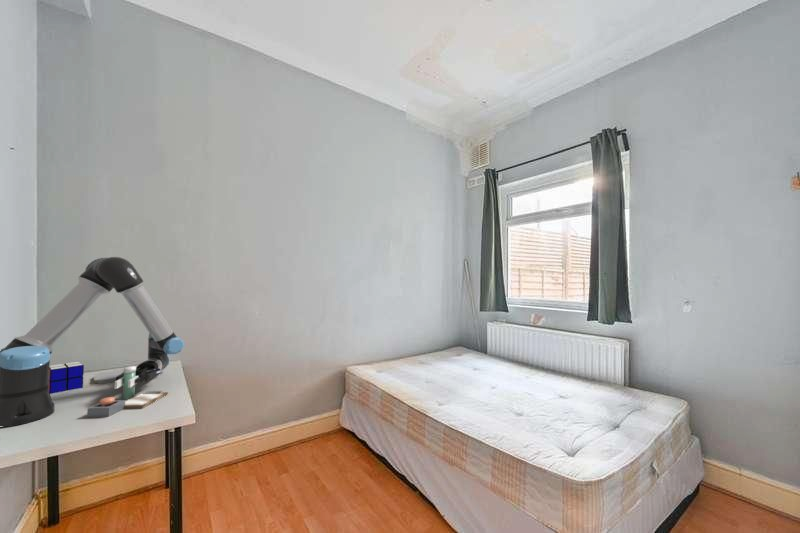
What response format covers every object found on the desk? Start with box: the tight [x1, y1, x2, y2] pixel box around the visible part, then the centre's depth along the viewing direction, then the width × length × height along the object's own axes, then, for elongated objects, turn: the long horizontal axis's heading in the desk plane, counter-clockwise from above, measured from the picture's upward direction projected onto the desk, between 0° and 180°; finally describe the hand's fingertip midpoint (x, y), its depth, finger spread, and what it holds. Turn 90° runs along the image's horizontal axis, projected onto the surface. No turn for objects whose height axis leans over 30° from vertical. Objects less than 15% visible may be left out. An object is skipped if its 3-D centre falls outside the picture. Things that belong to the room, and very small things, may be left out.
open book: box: [123, 390, 169, 410], centre depth 123 cm, size 14×10×2 cm
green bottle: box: [122, 365, 137, 401], centre depth 127 cm, size 4×4×12 cm
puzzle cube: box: [48, 361, 85, 395], centre depth 138 cm, size 10×10×10 cm
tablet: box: [93, 366, 166, 385], centre depth 157 cm, size 16×26×2 cm, turn 130°
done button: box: [98, 396, 116, 405], centre depth 113 cm, size 4×4×2 cm
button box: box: [86, 399, 126, 418], centre depth 113 cm, size 7×7×3 cm
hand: (122, 384), depth 122 cm, fingers closed on green bottle, 3 cm apart
